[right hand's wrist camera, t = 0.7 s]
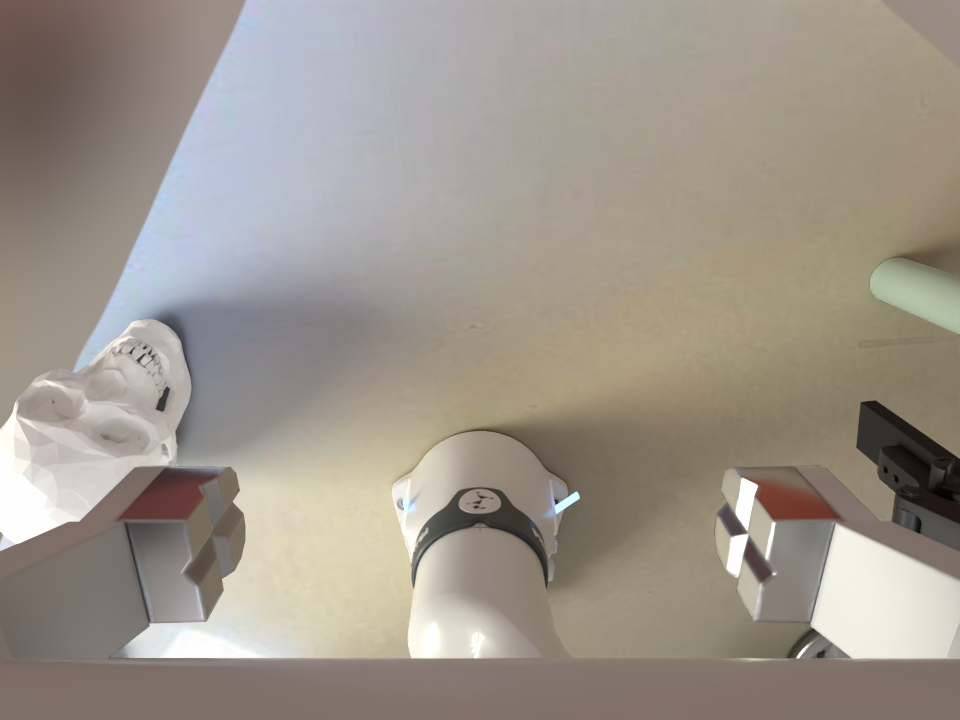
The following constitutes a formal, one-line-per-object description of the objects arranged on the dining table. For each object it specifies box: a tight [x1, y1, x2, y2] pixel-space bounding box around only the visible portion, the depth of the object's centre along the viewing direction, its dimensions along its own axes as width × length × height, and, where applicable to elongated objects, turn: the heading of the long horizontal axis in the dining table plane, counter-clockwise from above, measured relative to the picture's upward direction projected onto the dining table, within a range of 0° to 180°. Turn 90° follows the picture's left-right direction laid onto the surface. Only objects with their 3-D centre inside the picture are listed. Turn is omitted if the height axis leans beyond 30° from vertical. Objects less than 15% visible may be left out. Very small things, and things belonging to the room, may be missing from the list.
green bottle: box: [870, 257, 960, 335], centre depth 51 cm, size 4×4×15 cm
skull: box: [0, 319, 192, 544], centre depth 55 cm, size 13×22×16 cm, turn 156°
